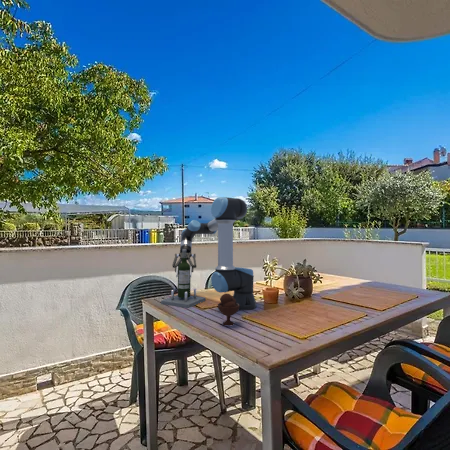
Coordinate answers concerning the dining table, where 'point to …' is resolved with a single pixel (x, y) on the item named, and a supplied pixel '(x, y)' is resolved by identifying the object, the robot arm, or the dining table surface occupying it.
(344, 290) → the dining table surface
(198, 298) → the peg stand
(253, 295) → the robot arm
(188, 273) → the wine bottle
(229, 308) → the ice cream bowl
